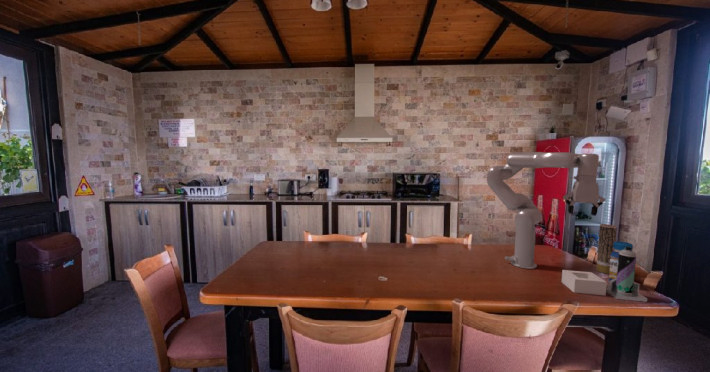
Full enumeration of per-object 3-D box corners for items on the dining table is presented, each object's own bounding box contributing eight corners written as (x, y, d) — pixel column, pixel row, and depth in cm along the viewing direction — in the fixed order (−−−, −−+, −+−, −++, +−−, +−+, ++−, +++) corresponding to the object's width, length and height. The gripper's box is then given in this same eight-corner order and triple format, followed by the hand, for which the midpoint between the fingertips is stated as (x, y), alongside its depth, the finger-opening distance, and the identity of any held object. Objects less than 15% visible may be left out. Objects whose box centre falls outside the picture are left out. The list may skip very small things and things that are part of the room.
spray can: (612, 289, 131) (616, 245, 130) (623, 289, 132) (627, 244, 130) (624, 295, 126) (629, 248, 124) (636, 294, 126) (640, 248, 125)
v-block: (600, 288, 136) (601, 276, 136) (629, 291, 134) (630, 279, 133) (615, 298, 126) (616, 286, 125) (647, 301, 123) (648, 289, 123)
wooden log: (616, 274, 154) (620, 227, 152) (601, 273, 155) (604, 226, 153) (607, 270, 161) (611, 224, 159) (593, 269, 162) (596, 223, 160)
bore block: (574, 292, 131) (575, 279, 131) (561, 282, 143) (562, 269, 142) (605, 295, 129) (606, 282, 128) (590, 284, 140) (591, 272, 140)
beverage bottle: (633, 289, 135) (637, 246, 134) (609, 285, 140) (613, 243, 138) (629, 283, 142) (632, 242, 141) (606, 279, 147) (609, 239, 145)
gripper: (569, 178, 142) (565, 214, 144) (611, 181, 138) (607, 217, 139) (562, 177, 149) (558, 211, 151) (602, 179, 145) (598, 214, 147)
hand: (581, 214), depth 145 cm, fingers open, 9 cm apart
